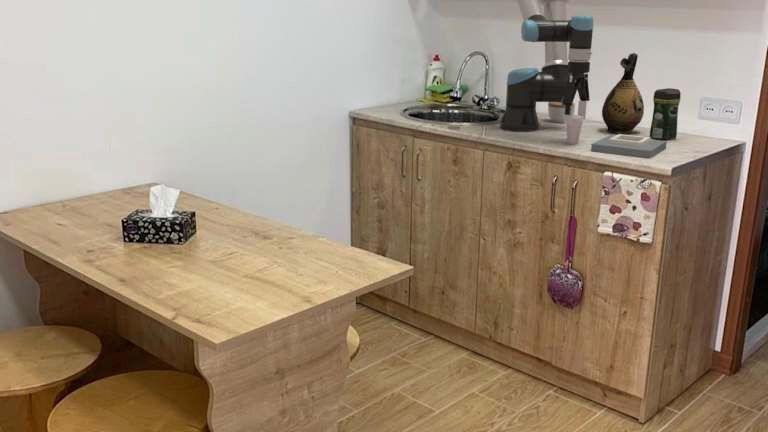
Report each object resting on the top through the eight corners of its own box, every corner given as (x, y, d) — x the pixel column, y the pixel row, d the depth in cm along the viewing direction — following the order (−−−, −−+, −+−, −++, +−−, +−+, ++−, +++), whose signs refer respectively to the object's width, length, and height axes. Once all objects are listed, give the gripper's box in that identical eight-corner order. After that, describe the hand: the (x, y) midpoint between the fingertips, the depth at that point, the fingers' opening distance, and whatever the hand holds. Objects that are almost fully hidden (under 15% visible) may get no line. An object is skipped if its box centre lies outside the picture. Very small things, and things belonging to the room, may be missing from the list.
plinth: (590, 150, 265) (591, 139, 264) (609, 141, 281) (610, 130, 280) (649, 158, 254) (651, 146, 253) (665, 148, 270) (667, 137, 269)
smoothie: (561, 141, 280) (564, 103, 276) (578, 141, 281) (581, 103, 277) (566, 145, 274) (569, 106, 270) (584, 145, 275) (587, 105, 271)
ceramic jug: (635, 137, 290) (644, 56, 281) (595, 132, 298) (602, 53, 289) (647, 130, 304) (655, 52, 295) (608, 126, 312) (615, 50, 303)
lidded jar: (547, 118, 328) (549, 96, 325) (573, 120, 325) (575, 97, 322) (546, 123, 318) (547, 100, 315) (572, 124, 315) (574, 101, 312)
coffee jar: (662, 135, 294) (667, 86, 288) (679, 138, 287) (685, 88, 282) (645, 137, 289) (650, 88, 283) (662, 141, 282) (668, 90, 277)
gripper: (576, 63, 257) (571, 127, 263) (601, 59, 277) (596, 118, 283) (555, 62, 261) (551, 124, 267) (581, 58, 281) (576, 116, 287)
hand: (574, 121), depth 275 cm, fingers open, 13 cm apart
